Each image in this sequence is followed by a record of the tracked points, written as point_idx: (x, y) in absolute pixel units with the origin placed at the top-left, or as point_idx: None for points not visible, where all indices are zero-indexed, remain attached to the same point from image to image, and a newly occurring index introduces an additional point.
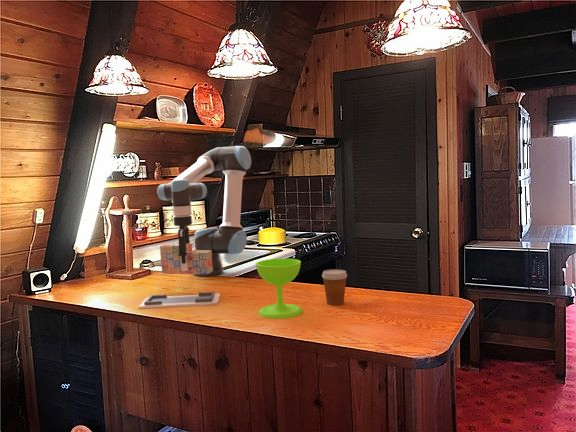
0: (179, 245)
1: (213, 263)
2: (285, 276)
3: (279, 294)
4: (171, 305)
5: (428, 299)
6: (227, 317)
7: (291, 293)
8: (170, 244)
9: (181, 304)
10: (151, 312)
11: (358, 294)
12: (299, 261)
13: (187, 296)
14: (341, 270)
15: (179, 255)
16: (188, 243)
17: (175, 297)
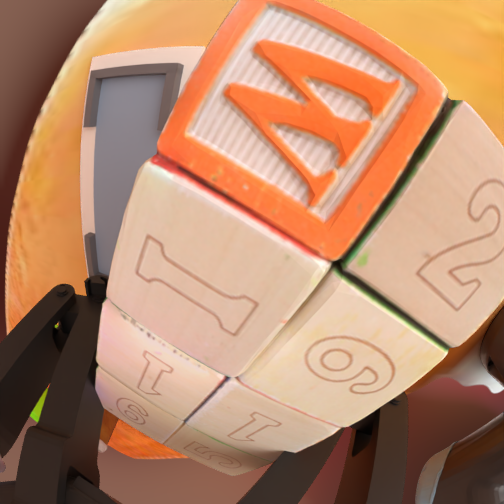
0: (10, 341)
1: (502, 372)
2: None
3: None
4: (82, 160)
5: (127, 449)
6: (33, 274)
7: None
8: (389, 294)
9: (80, 191)
10: (58, 111)
11: (150, 443)
12: (33, 418)
13: None
14: (99, 450)
15: (95, 285)
16: (246, 469)
17: None
